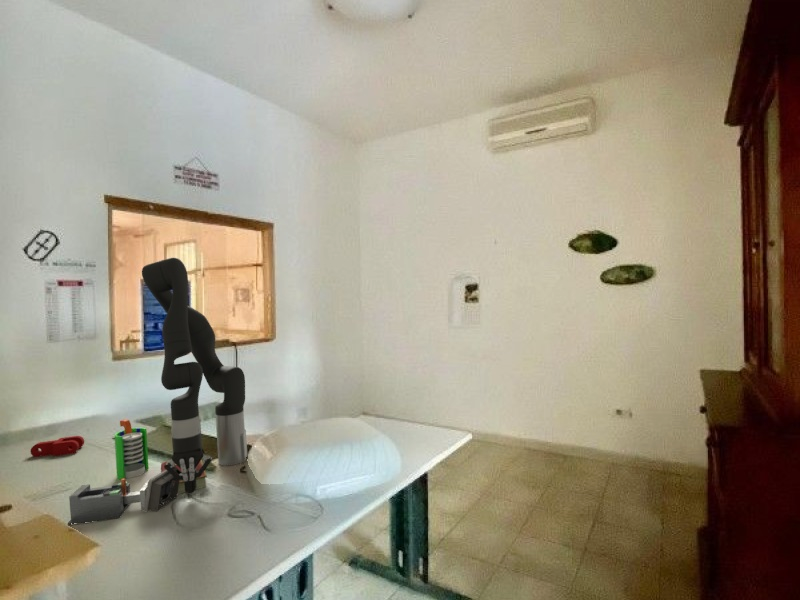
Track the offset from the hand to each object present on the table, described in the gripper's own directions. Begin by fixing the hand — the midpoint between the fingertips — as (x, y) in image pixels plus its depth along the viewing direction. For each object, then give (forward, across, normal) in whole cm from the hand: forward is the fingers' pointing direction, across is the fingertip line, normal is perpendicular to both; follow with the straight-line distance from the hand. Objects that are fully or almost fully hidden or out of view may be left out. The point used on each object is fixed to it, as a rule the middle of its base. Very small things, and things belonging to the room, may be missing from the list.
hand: (190, 492), depth 125 cm
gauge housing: (+2, +23, 0) cm, 23 cm away
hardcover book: (+3, +6, -16) cm, 17 cm away
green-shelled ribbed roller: (+2, +25, -27) cm, 37 cm away
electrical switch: (+2, +7, +1) cm, 7 cm away
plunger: (+2, +17, 0) cm, 17 cm away
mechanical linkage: (+2, +62, -60) cm, 86 cm away
